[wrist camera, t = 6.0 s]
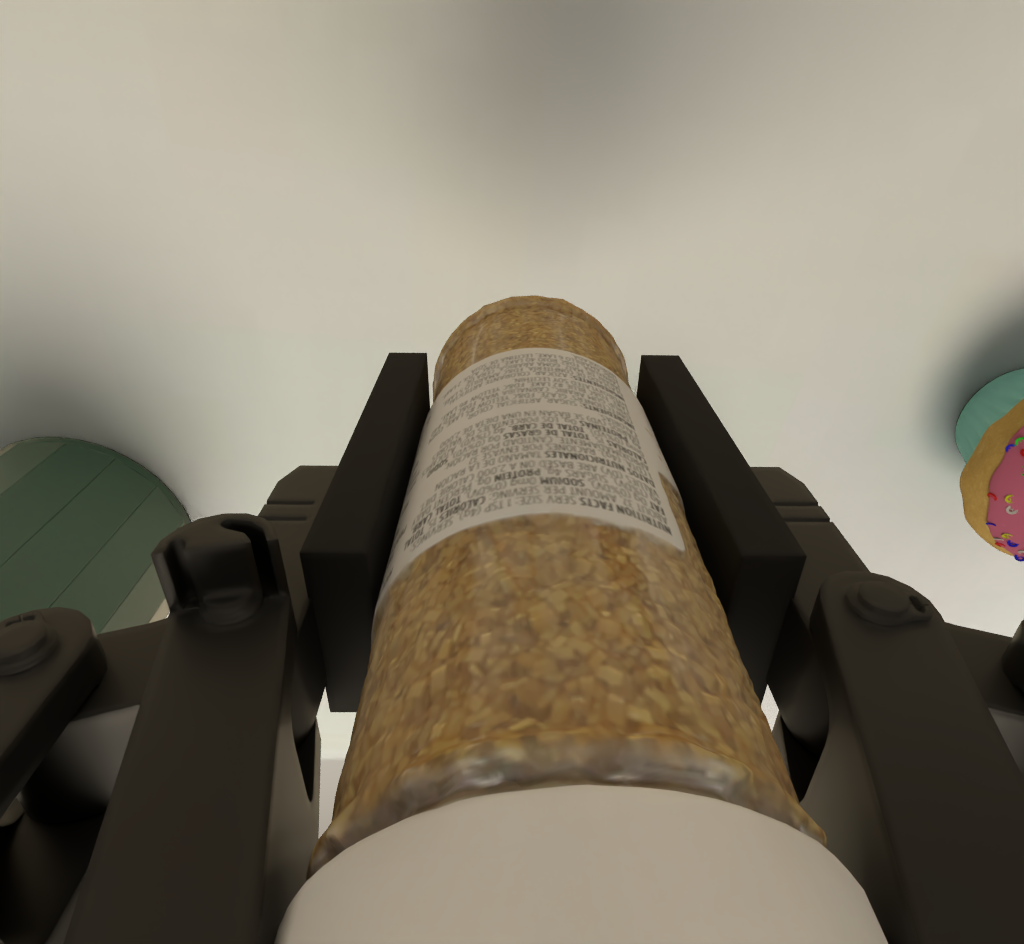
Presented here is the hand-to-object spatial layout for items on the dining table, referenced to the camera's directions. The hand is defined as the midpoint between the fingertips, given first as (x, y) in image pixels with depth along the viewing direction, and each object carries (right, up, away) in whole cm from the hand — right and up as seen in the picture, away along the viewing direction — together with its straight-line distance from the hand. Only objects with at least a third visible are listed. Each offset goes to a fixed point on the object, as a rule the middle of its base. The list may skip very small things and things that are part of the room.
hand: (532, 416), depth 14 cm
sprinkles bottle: (0, +1, +2) cm, 2 cm away
